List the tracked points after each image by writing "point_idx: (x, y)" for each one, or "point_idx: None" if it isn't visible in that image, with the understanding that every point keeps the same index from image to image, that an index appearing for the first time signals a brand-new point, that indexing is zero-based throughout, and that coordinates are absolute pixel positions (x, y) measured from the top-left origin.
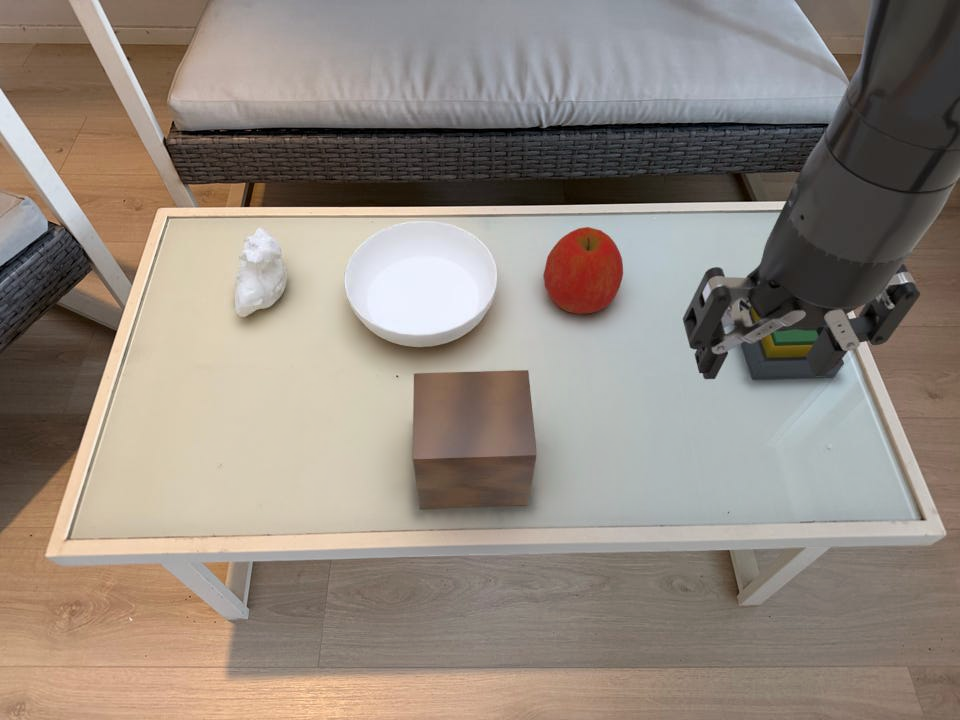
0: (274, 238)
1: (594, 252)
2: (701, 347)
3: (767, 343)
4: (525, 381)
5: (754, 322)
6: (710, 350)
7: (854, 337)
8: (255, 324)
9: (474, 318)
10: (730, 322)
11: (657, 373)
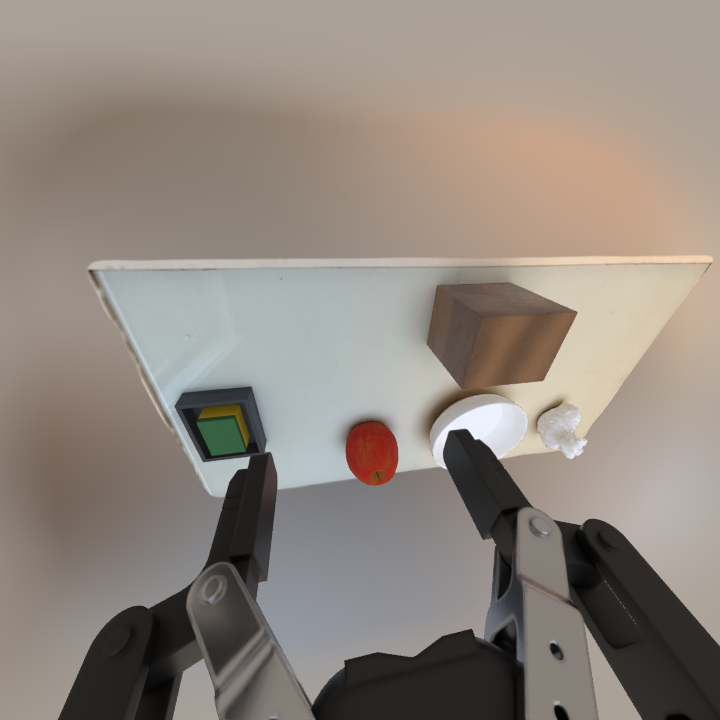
0: (567, 454)
1: (376, 471)
2: (588, 528)
3: (239, 415)
4: (467, 380)
5: (247, 427)
6: (524, 505)
7: (208, 644)
8: (558, 398)
9: (457, 416)
10: (500, 579)
11: (323, 386)
